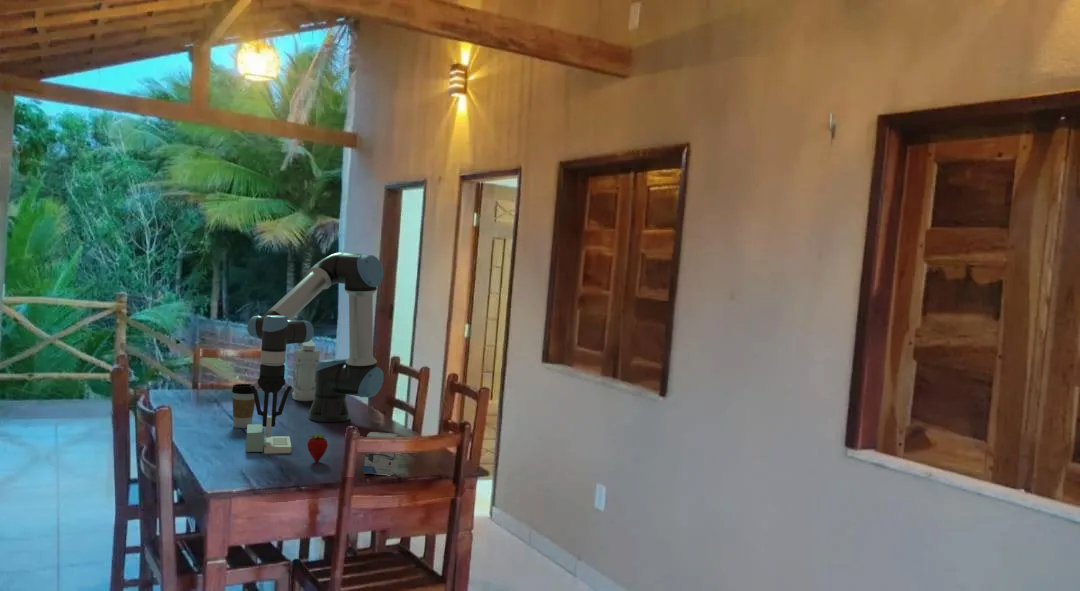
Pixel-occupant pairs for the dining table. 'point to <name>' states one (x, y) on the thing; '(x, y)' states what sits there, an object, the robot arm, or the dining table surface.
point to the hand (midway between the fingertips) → (268, 436)
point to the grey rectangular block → (254, 438)
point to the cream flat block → (277, 444)
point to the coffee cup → (242, 405)
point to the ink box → (380, 458)
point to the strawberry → (317, 446)
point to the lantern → (305, 371)
